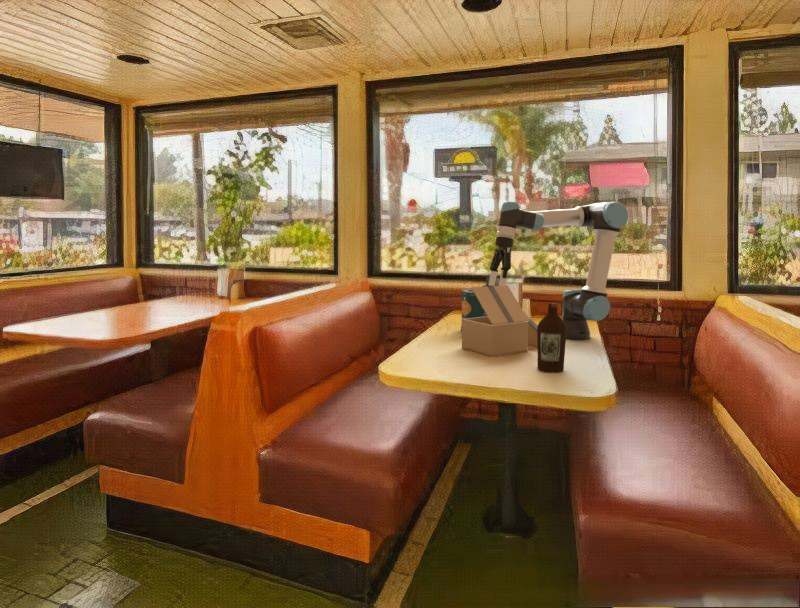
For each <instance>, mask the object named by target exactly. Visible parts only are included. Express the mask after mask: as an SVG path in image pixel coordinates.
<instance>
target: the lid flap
mask: <svg viewBox="0 0 800 608" xmlns="http://www.w3.org/2000/svg"><path fill="white" fill-rule="evenodd" d="M471 289H473V291H474V293H475V295H476V296H477V298H478V300H479V302H480V304H481V305H482V307H483V309H484V311H485V312H486V314H487V316H488V318H489V320H490V321H491V323H492V325H497V324H506V323H514V322H523V321H528V318H527V317H526V315H525V313H526V312H525V313H524V312H523V311H524V310H523V308H522V307H521V305H520V303H519V302H518V300H517V299H516V297H515V295H514V294H513V292H512V290H511V289H510V286H509V285H508V284H506V286H485V287H482V286H473V287H471Z"/></svg>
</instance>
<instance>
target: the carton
mask: <svg viewBox="0 0 800 608" xmlns="http://www.w3.org/2000/svg"><path fill="white" fill-rule="evenodd" d="M461 326H462V331H461V349H463V350H466V351H470V352H472V353H473V352H474V353H476V352H477V354H480V353H481V355H483V354H485V355H484V356H486V355H488V356H487V357H490V356H495V357H499V355H501V356H506V355H505V354H508V355H514V354H520V352H521V353H526V352H525V351H527V352H528V349H529V346H528V321H523V322H514V323H506V324H497V325H492V323H491V321H490V320H489V318H488V316H487V317H477V318H467V319H462V318H461ZM513 353H514V354H513Z"/></svg>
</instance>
